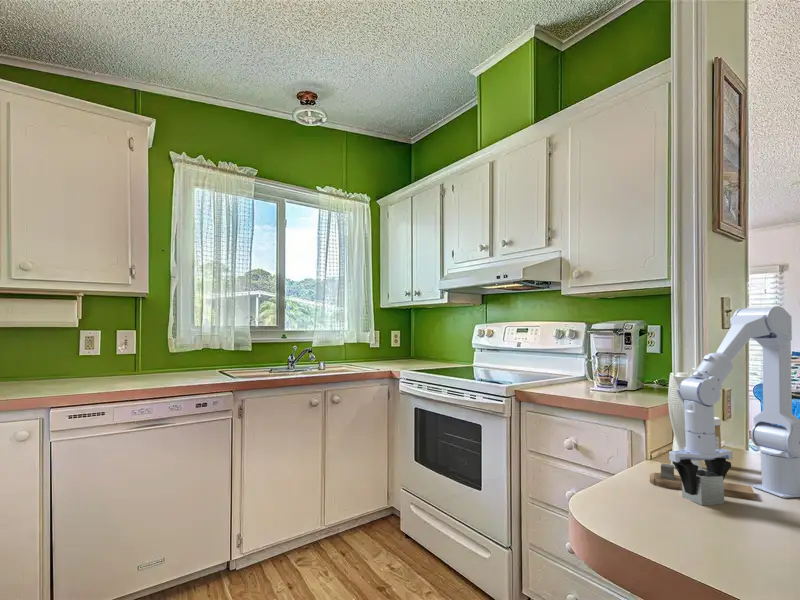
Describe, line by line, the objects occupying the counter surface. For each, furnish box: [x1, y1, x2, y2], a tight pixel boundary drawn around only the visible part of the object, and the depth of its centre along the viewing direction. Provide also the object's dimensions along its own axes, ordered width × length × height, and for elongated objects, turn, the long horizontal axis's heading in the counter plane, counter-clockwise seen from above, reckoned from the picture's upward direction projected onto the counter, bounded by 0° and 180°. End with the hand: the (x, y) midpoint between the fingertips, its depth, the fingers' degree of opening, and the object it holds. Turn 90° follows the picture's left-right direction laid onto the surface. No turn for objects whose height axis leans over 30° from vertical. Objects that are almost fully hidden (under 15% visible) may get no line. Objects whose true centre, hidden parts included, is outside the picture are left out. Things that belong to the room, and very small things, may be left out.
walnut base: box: [649, 463, 756, 501], centre depth 112 cm, size 21×8×4 cm, turn 59°
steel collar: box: [681, 469, 725, 506], centre depth 104 cm, size 6×6×6 cm
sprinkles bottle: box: [703, 416, 723, 466], centre depth 132 cm, size 5×5×14 cm
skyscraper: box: [667, 367, 707, 470], centre depth 129 cm, size 8×8×28 cm
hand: (702, 492), depth 104 cm, fingers open, 6 cm apart
